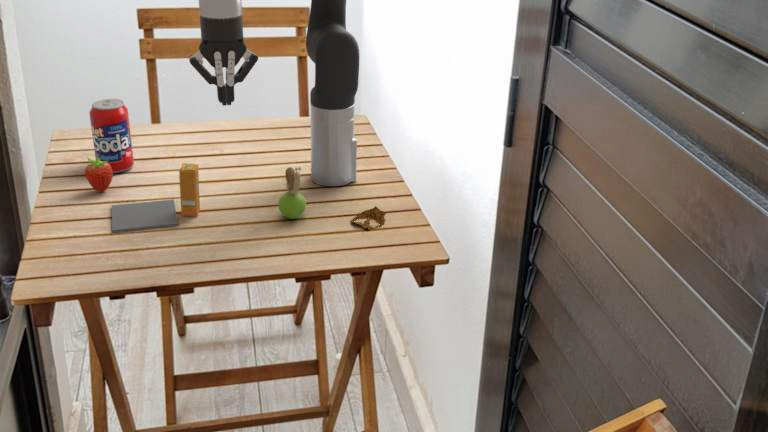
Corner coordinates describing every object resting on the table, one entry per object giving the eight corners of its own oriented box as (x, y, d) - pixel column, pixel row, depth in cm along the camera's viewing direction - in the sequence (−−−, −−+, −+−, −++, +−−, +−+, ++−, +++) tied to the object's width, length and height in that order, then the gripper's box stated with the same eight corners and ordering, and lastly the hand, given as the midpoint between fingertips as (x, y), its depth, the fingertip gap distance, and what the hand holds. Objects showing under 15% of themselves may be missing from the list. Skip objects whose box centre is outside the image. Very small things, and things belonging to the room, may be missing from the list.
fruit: (116, 186, 175) (111, 150, 171) (113, 196, 170) (108, 160, 167) (89, 187, 174) (84, 152, 171) (86, 198, 170) (80, 161, 166)
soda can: (133, 159, 188) (125, 96, 181) (135, 173, 181) (128, 107, 174) (96, 163, 186) (87, 98, 179) (97, 177, 179) (88, 110, 172)
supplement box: (199, 216, 164) (195, 169, 159) (181, 216, 163) (177, 169, 159) (201, 209, 167) (198, 163, 162) (184, 209, 166) (180, 162, 162)
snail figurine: (286, 227, 160) (284, 170, 155) (274, 214, 166) (272, 158, 160) (312, 222, 163) (311, 165, 157) (300, 209, 168) (299, 153, 162)
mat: (173, 201, 169) (173, 199, 169) (178, 225, 160) (177, 223, 160) (112, 207, 166) (111, 205, 166) (112, 232, 157) (112, 230, 156)
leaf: (344, 222, 164) (344, 215, 163) (371, 209, 168) (371, 202, 167) (366, 237, 160) (366, 230, 159) (392, 223, 164) (393, 216, 163)
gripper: (254, 5, 155) (258, 95, 162) (181, 8, 151) (188, 100, 159) (261, 15, 148) (264, 108, 156) (184, 18, 145) (192, 113, 152)
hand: (226, 104), depth 157 cm, fingers closed
